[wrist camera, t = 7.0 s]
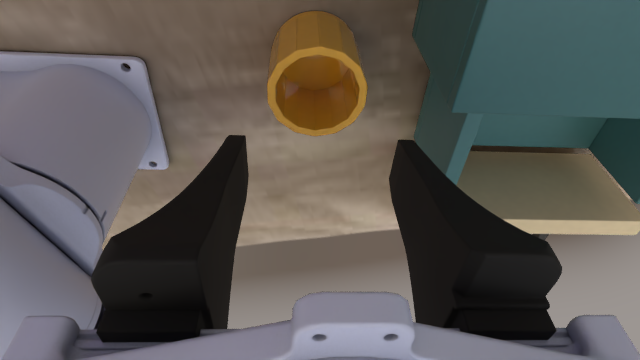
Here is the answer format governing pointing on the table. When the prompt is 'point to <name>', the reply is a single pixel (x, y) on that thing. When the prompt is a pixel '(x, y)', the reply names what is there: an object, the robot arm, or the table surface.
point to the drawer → (538, 167)
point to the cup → (316, 75)
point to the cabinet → (534, 56)
